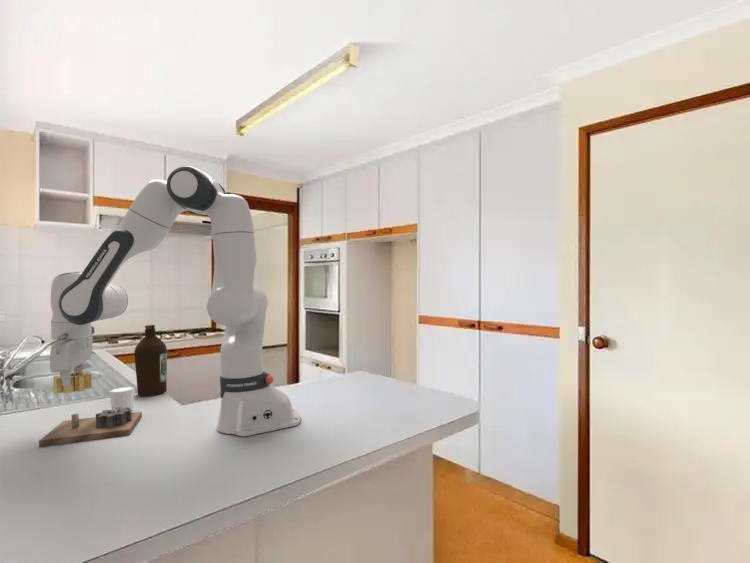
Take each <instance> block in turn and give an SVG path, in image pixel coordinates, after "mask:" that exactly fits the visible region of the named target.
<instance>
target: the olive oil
mask: <svg viewBox="0 0 750 563" xmlns="http://www.w3.org/2000/svg"><path fill="white" fill-rule="evenodd" d="M155 327H156V325H155V324H145V326H144V328H145V329H144V337H143V338H142V339H141V340H140V341H139V342H138V343H137V345H136V346H135V349H134V354H133V355H134V365H135V366H134V367H135V376H136V387H137V388H136V389H137V396H139V397H155V396H160V395H162V394H165V393H166V392H167V390H168V388H167V383H168V382H167V374H168V372H167V370H168V369H167V368H168V362H167V361H168V348H167V345H166V344H165V342H164V341H163V340H162V339H160V338H159V337H158V336H157V335H156V328H155Z"/></svg>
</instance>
